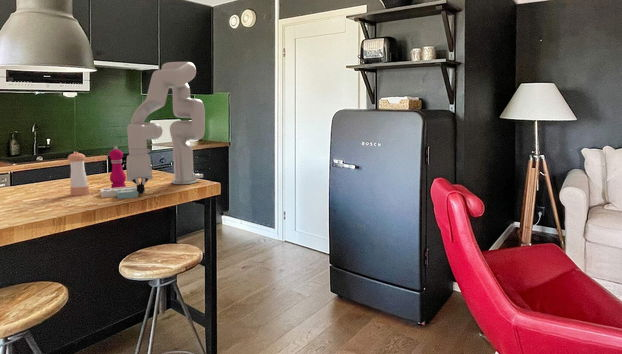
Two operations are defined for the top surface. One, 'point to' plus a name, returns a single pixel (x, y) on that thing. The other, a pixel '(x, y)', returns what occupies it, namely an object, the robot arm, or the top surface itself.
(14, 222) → the top surface
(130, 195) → the stub
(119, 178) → the pepper mill
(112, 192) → the ticket
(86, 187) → the pepper shaker
